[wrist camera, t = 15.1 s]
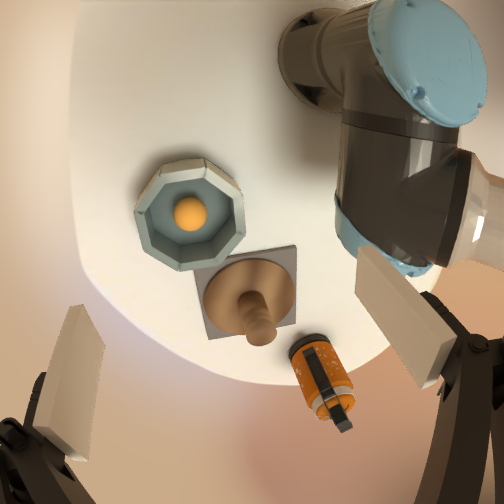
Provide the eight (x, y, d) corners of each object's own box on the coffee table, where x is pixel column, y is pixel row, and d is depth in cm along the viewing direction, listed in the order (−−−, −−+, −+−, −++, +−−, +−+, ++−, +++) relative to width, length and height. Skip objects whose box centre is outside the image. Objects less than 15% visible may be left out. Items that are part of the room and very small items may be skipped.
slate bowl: (232, 152, 41) (240, 162, 35) (240, 240, 47) (248, 260, 42) (134, 167, 39) (126, 180, 34) (153, 254, 45) (150, 276, 40)
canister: (296, 368, 65) (327, 445, 48) (277, 340, 60) (310, 427, 43) (333, 350, 65) (371, 423, 48) (319, 319, 59) (363, 401, 42)
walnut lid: (293, 250, 49) (314, 283, 41) (293, 322, 57) (309, 357, 49) (196, 266, 47) (200, 304, 39) (211, 337, 55) (217, 376, 47)
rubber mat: (295, 245, 50) (296, 247, 49) (294, 320, 58) (295, 323, 57) (192, 261, 47) (192, 264, 47) (208, 336, 56) (208, 339, 55)
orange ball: (203, 190, 41) (206, 201, 38) (208, 220, 44) (210, 234, 40) (171, 195, 41) (170, 207, 37) (176, 225, 43) (176, 239, 39)
